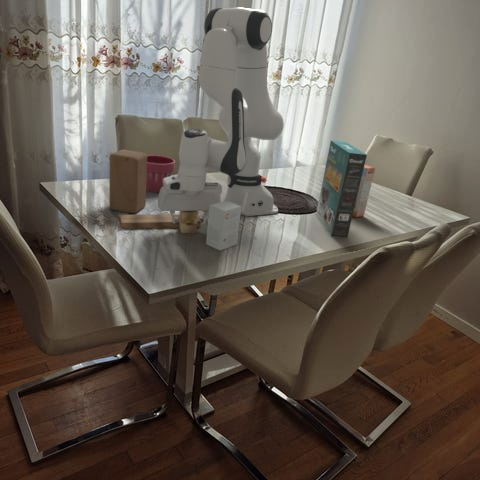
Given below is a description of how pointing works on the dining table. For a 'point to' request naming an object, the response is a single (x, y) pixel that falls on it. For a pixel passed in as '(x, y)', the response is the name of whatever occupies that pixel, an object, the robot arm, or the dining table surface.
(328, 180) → the cake mix box
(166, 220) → the plank
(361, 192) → the cracker box
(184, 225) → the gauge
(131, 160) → the wooden block
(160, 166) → the plant pot
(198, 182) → the robot arm
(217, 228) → the small box
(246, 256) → the dining table surface
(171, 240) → the dining table surface
